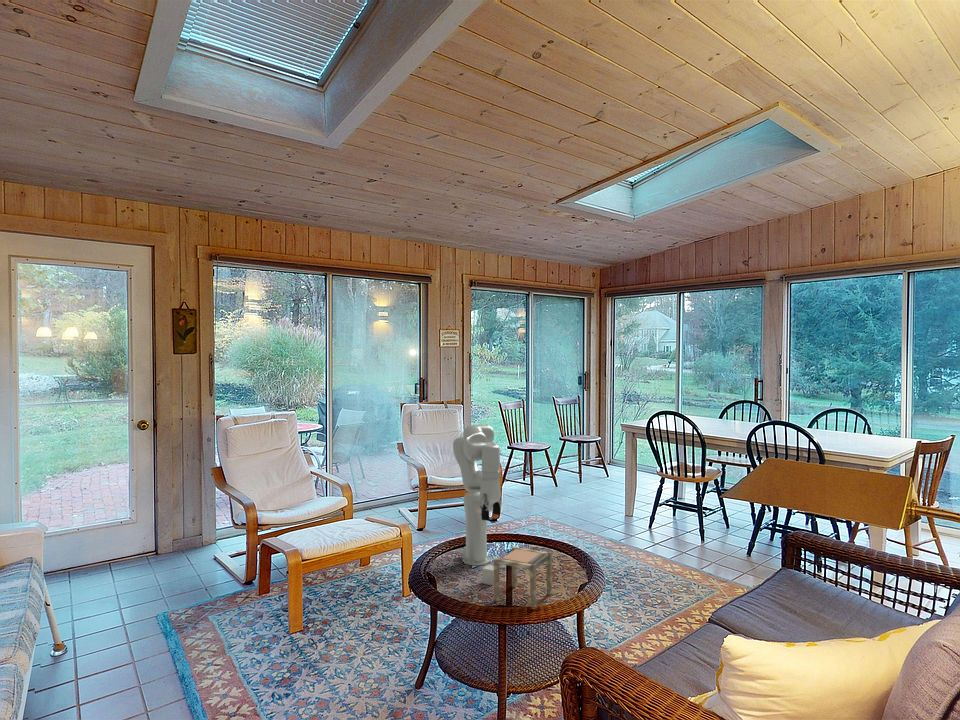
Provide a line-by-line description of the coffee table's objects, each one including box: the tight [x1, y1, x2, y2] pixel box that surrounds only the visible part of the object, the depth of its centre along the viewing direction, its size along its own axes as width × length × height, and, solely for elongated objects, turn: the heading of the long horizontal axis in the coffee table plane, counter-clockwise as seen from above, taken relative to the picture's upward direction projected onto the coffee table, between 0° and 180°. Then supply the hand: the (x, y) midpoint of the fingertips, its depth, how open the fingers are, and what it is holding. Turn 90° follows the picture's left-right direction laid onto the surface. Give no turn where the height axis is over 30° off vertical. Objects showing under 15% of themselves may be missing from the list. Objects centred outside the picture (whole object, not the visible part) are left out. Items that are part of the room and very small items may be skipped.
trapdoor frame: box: [493, 546, 553, 608], centre depth 202 cm, size 17×17×16 cm
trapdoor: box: [501, 549, 544, 565], centre depth 202 cm, size 12×12×1 cm
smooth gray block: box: [482, 564, 494, 586], centre depth 217 cm, size 5×5×6 cm
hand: (491, 517), depth 218 cm, fingers open, 9 cm apart
